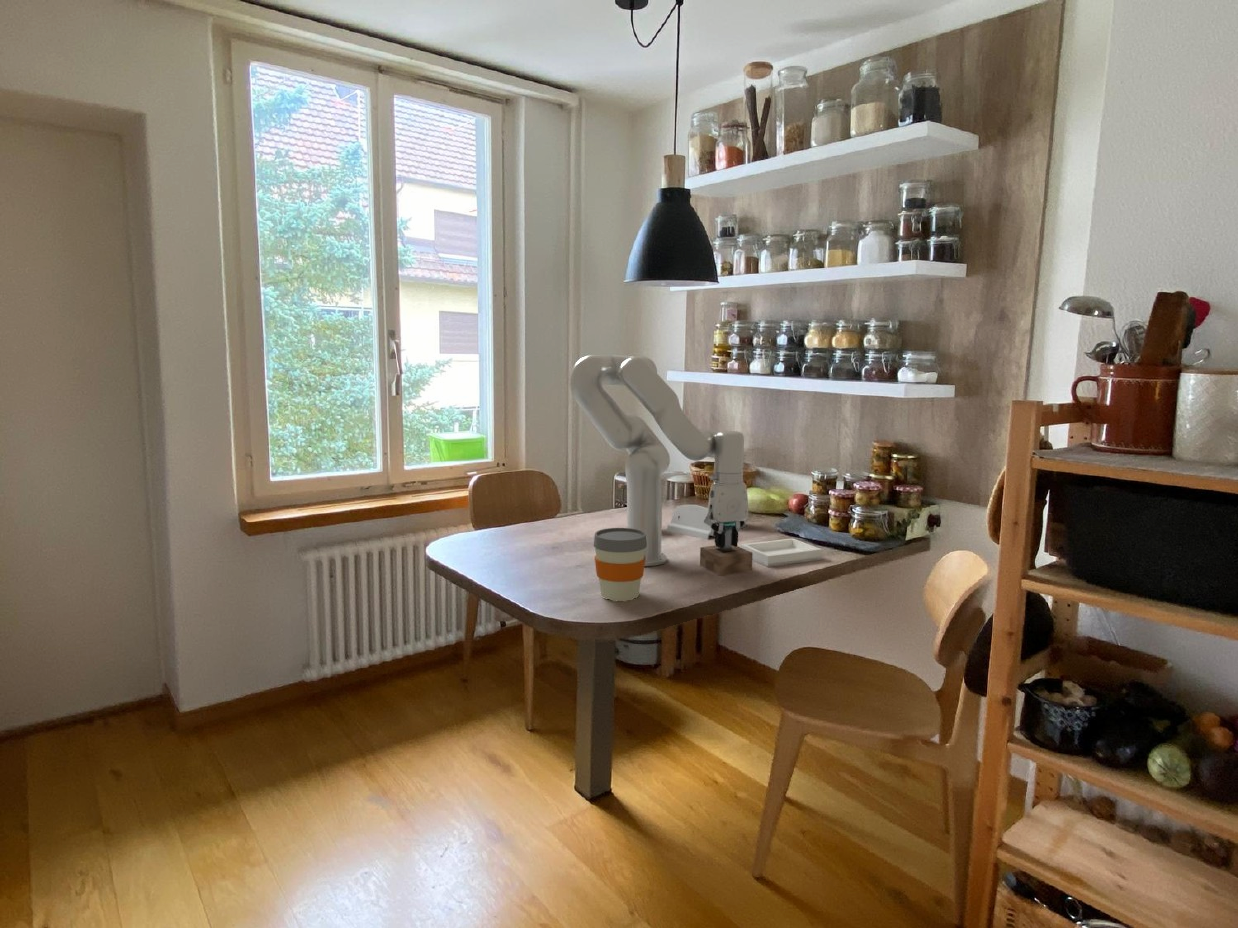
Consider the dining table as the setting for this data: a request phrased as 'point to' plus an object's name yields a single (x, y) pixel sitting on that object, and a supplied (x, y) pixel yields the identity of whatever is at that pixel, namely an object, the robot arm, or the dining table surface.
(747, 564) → the socket block
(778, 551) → the tray
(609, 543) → the reusable coffee cup
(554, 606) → the dining table surface
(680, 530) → the hinge
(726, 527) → the steel pin
